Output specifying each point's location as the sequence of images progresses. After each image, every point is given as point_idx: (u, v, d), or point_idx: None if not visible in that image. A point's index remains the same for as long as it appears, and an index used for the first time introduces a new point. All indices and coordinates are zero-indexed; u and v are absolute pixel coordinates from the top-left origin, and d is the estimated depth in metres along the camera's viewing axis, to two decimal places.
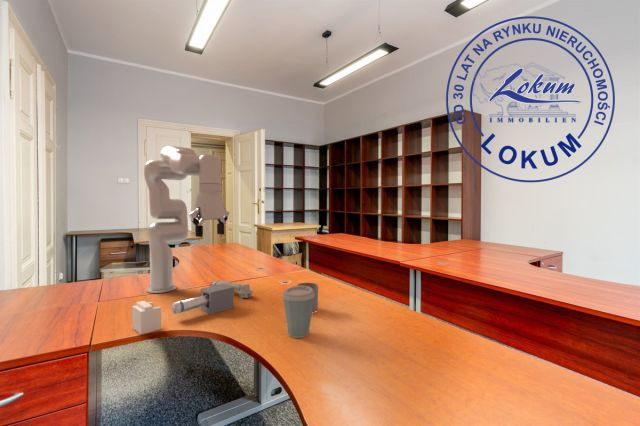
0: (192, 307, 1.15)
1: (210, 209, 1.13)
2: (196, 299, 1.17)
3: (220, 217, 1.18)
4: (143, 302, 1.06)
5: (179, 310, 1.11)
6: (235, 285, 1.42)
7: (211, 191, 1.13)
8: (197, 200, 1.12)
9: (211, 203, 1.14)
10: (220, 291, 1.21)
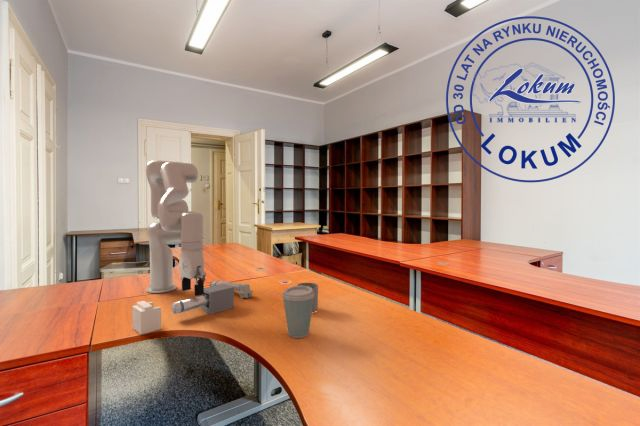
0: (192, 307, 1.15)
1: None
2: (196, 299, 1.17)
3: None
4: (143, 302, 1.06)
5: (179, 310, 1.11)
6: (235, 285, 1.42)
7: None
8: (196, 259, 1.12)
9: None
10: (220, 291, 1.21)
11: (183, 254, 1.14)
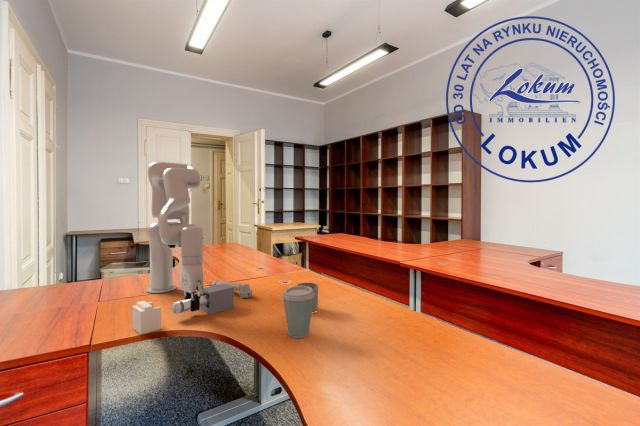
0: None
1: None
2: None
3: None
4: (143, 302, 1.06)
5: (179, 310, 1.11)
6: (235, 285, 1.42)
7: (202, 262, 1.17)
8: (196, 274, 1.12)
9: None
10: (220, 291, 1.21)
11: (183, 268, 1.15)
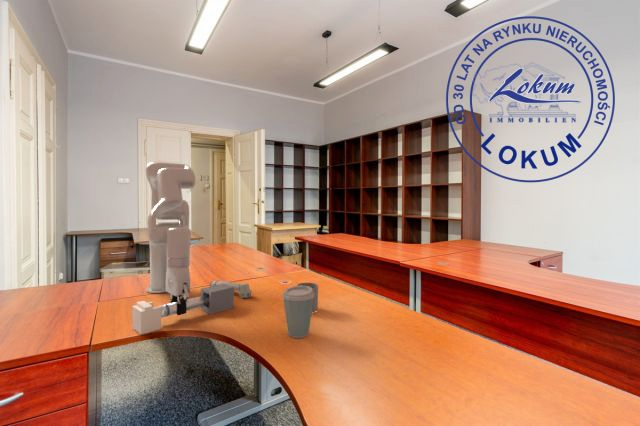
0: None
1: None
2: None
3: None
4: (143, 302, 1.06)
5: (164, 314, 1.08)
6: (235, 285, 1.42)
7: (189, 264, 1.13)
8: (182, 276, 1.09)
9: None
10: (220, 291, 1.21)
11: (169, 270, 1.11)
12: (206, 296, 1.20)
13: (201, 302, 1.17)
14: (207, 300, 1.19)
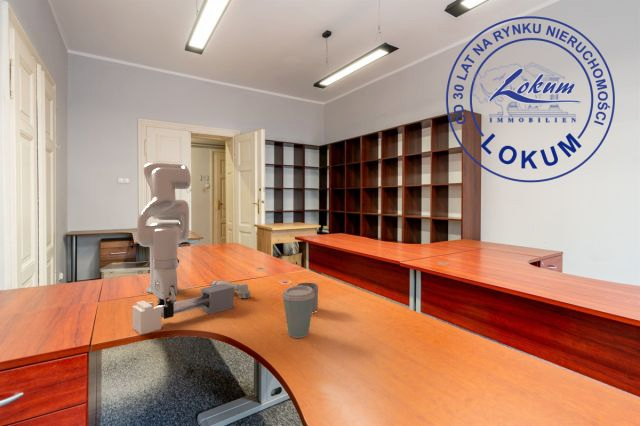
0: None
1: None
2: None
3: None
4: (143, 302, 1.06)
5: None
6: (234, 285, 1.42)
7: None
8: (169, 278, 1.05)
9: None
10: (220, 291, 1.21)
11: (156, 272, 1.08)
12: (195, 299, 1.17)
13: (189, 305, 1.14)
14: (196, 303, 1.16)
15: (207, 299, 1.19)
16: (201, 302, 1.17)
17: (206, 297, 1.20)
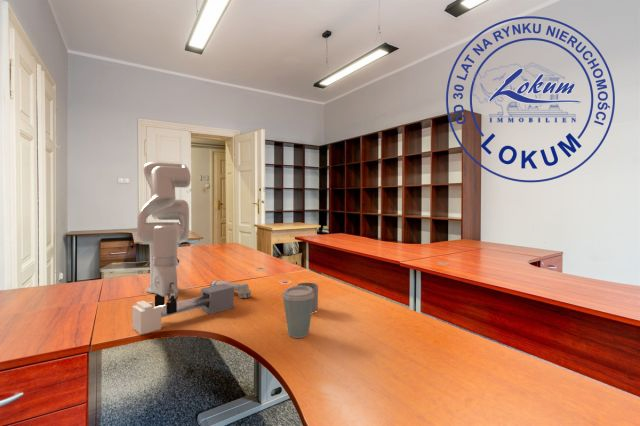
0: (165, 314, 1.08)
1: None
2: None
3: None
4: (143, 302, 1.06)
5: None
6: (234, 285, 1.42)
7: None
8: (169, 276, 1.05)
9: None
10: (220, 291, 1.21)
11: (155, 269, 1.08)
12: (195, 299, 1.17)
13: (189, 305, 1.14)
14: (196, 303, 1.16)
15: (207, 299, 1.19)
16: (201, 302, 1.17)
17: (206, 297, 1.20)
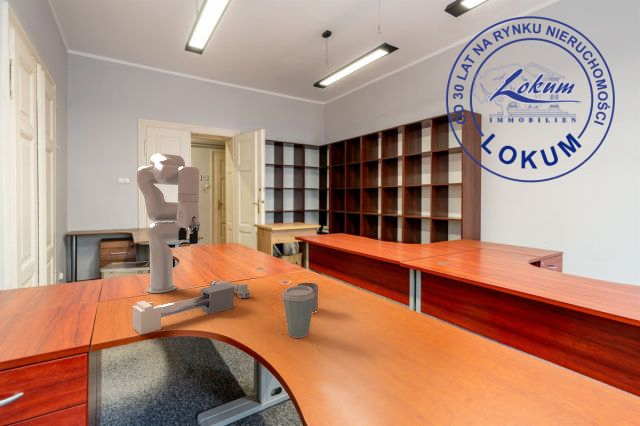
0: (165, 314, 1.08)
1: None
2: (170, 305, 1.10)
3: None
4: (143, 302, 1.06)
5: None
6: (233, 285, 1.42)
7: (198, 201, 1.24)
8: (191, 210, 1.20)
9: None
10: (220, 291, 1.21)
11: (180, 205, 1.22)
12: (195, 299, 1.17)
13: (189, 305, 1.14)
14: (196, 303, 1.16)
15: (207, 299, 1.19)
16: (201, 302, 1.17)
17: (206, 297, 1.20)
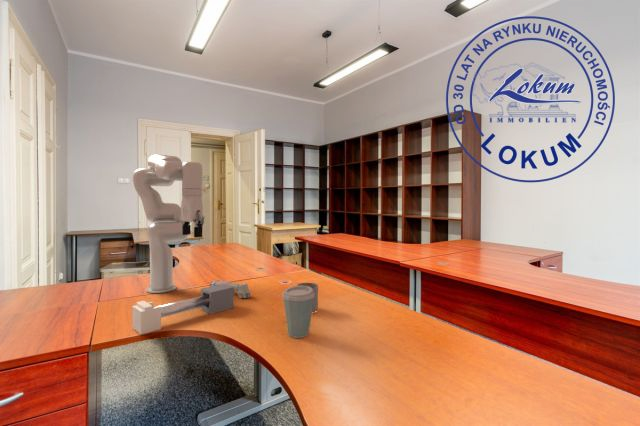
0: (165, 314, 1.08)
1: None
2: (170, 305, 1.10)
3: None
4: (143, 302, 1.06)
5: None
6: (234, 285, 1.42)
7: None
8: (196, 204, 1.22)
9: None
10: (220, 291, 1.21)
11: (184, 200, 1.25)
12: (195, 299, 1.17)
13: (189, 305, 1.14)
14: (196, 303, 1.16)
15: (207, 299, 1.19)
16: (201, 302, 1.17)
17: (206, 297, 1.20)
